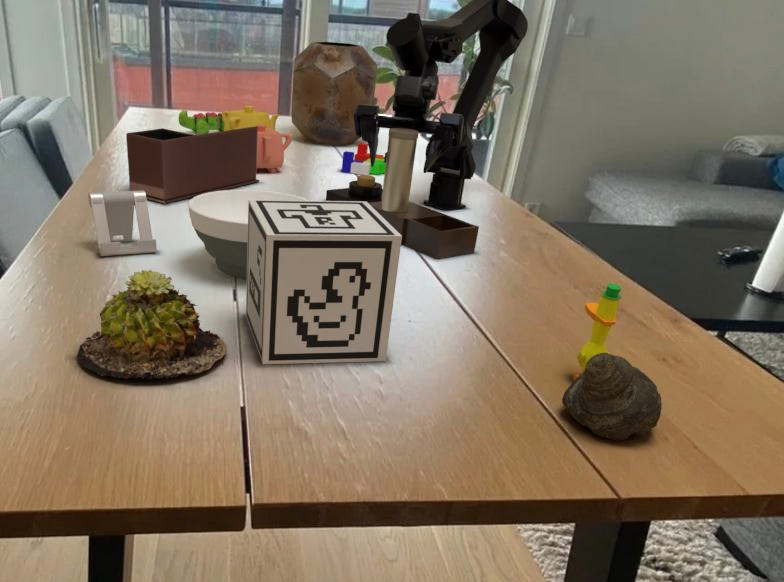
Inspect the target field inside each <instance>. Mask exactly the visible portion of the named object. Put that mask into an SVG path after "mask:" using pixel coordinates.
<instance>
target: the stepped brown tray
mask: <svg viewBox="0 0 784 582" xmlns="http://www.w3.org/2000/svg"><path fill="white" fill-rule="evenodd" d="M369 204H370V205H371V206H372V207H373V208H374V209H375V210H376V211H377V212H378V213H379V214H380V215H381V216H382V217H383V218H384V219H385V220H386V221H387V222H388V223H389V224H390V225H391V226H392V227H393V228H394V229H395V230H396V231H397V232H398V233H399V234H401V235H402V240H401V246H405V247H408V248H410V249H413V250H414V251H417V252H419V253H421V254H424V255H427V256H428V257H431V258H433V259H436V260H440V259H447V258H451V257H452V258H453V257H458V256H464V255H470V254H475V250H476V245H477V241H478V233H479V231H480V230H479V229H480V226H478V225H476V224H473V223H470V222H467V221H464V220H462V219H459V218H456V217H454V216H451V215H448V214H446V213H442V212H440V211H438V210H434V209H431V208H429V207H426V206H423V205H421V204H418V203H416V202H413V201H410V200H409V204H408V211H407V212H404V213H392V212H387V211H384V210H382V209H381V202H371V203H369Z"/></svg>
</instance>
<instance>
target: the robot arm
mask: <svg viewBox="0 0 784 582" xmlns="http://www.w3.org/2000/svg"><path fill="white" fill-rule="evenodd" d="M528 27H529V22H528V19H527V17H526V15H525V14H524V12H523V10H522V9H521V8H520V7H518V6H517V5H515V4H514V3H513V2H512V1H510V0H470V1H469V2H468V3H467V4H465V5H464V6H463V7H461V8H460V9H459V10H457V11H456V12H454V13H453V14H451V15H450V16H449V17H447V18H443V19H435V20H430V21H428V22H425V23H423V24H422V18H421V15H420V13H416V12H408V13H407V15H406V17H404V18H401V19H399V20H397V21H396V22H395V23H393V24H392V25H391V26H389V28H388V30H387V32H386V34H385V35H386V36H385V39H386V43H387V44H388V47H389V49H390V51H391V54H392V56H393V59H394V61H395V63H396V66H397V68H399V69H400V70H401V71H404V72H403V75H398V76H396V81H395V87H394V92H393V103H392V111H393V112H394V114H393V115H392V114H385V113H380V105H379V104H378V105H377V104H373V105H369V104H359V105H358V106H357V107H356V108H355V111H354V115H353V116H354V124H355V132H356V135H357V136H358V137H361V140H362V141H363V142H366V144H368V149H369V153H370V161H371V166H372V167H373V166H374V163H375V159H376V154H377V152H378V145H379V133H380V128H381V129H388V130H389V129H391V128H407V129H413V130H417V131H418V132H419V133H418V134H423V135H431V136H430V137H429V139H428V143H427V145H426V147H425V160H424V165H423V174H427V173H431V174H432V179H431V181H430V186H429V192H428V198H427V199H424V200H423V204H426V205H429V206H430V207H434V208H437V209H438V210H441V211H448V210H455V209H456V210H457V209H464V208H465V209H466V208H467V204H464V203H462V199H463V192H464V187H465V181H466V180H471V179H472V178H473V177H474V174H475V171H476V168H477V166H476V162H475V159H474V155H473V152H472V151H473V148H474V140H473V133H472V132H473V128H474V126H475V124H476V122H477V120H478V117H479V116H480V113H481V110H482V109H483V106H484V104H485V102H486V100H487V97H488V95H489V93H490V90H491V88H492V86H493V84H494V82H495V79H496V77H497V75H498V73H499V70H500V68H501V66H502V64H503V63H504V62H505V61H506V60H507V59H509V58H511V56H513V55H514V54H515V53H516V52H517V50H518V49H519V46H520V45H521V44H522V41H523V40H524V39H525V37H526V35H527V32H528ZM476 33H478V42H479V52H478V54H477V57H476V59H475V62H474V63H473V65H472V68H471V70H470V73H469V75H468V77H467V79H466V82H465V83H464V86H463V89H462V90H461V93H460V95H459V97H458V99H457V102H456V104H455V106H454V108H453V110H452V112H440V115H439V118H438V119H439V121H438V120H427V119H428V115H429V111H430V107H431V103H432V101H436V99H437V95H438V89H439V84H440V78H439V76H438V73H439V65H438V63H443V64H449V65H450V64H452V63H453V62H454V61H455V60H456V59H457V58H458V57H459V56H460V55H461V53H462V52H463V51H464V49H463V48H464V44H465V42H466V41H467V40H468V39H469V38H471V37H472V36H474V35H475V34H476Z"/></svg>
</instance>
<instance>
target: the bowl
mask: <svg viewBox="0 0 784 582" xmlns="http://www.w3.org/2000/svg"><path fill="white" fill-rule="evenodd" d="M248 200H304V201H311V199H308V198H305V197H302V196H298V195H294V194H290V193H286V192H279V191H273V190H260V189H226V190H221V191H215V192H209V193H204V194H201V195H198V196H196V197H192V198H190V200H189V202H188V203H187V205H188V213H189V218H190V222H191V226H192V227H193V230H194V231H195V233H196V235H197V237H198V238H199V239H200V241H202V243H203V245H204V249H205V250H206V251H207V253H208V254H209V256H210V257H212V258H213V259H214V261H215V266H216V267H217V269H218V270H219V271H221V272H222V273H223V274H225V275H228V276H230V277H233V278H237V279H241V280H247V243H248Z"/></svg>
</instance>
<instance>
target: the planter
mask: <svg viewBox="0 0 784 582" xmlns="http://www.w3.org/2000/svg"><path fill="white" fill-rule="evenodd" d="M293 61H294V62H293V74H292V94H291V95H292V96H291V113H290V115H291V123H292V125H293V126H294V127H295V128H296V129H297V130H298V131H299V133H301V135H302V136H303V137H304V138H305V140H306V141H309V142H311V143H313V144H315V145H322V146H332V147H333V146H334V147H343V146H348V145H353V144H355V143H357V142H358V140H360V139H362V137H358V136H357V135H356V132H355V124H354V116H353V115H354V111H355V108H356V107H357V106H358V105H359V104H369V105H374V104H375V103H374V102H375V92H376V83H377V75H378V63H376V61H375V60H374V59H373V57H372V56H371V55H370V54H369V52H368V51H367V50H366V49H365V47H363V46H362V45H359V44H354V43H346V42H335V41H334V42H333V41H312V42H311V43H310V44H309V45H307V46H306V47H305V48H304V49H303V50H302V51H301V52H300V53H299V54H298V55H297V56H295V58H294V60H293Z"/></svg>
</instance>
